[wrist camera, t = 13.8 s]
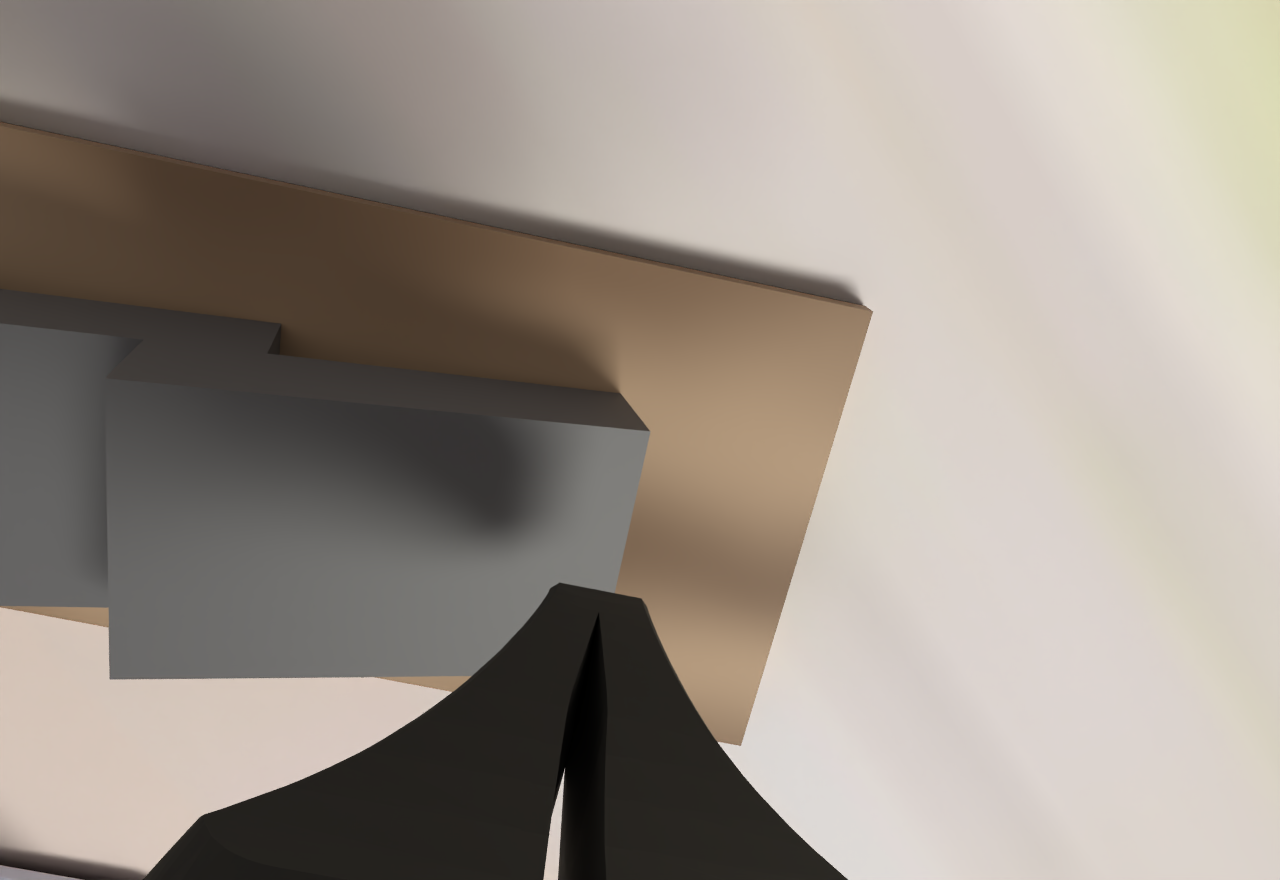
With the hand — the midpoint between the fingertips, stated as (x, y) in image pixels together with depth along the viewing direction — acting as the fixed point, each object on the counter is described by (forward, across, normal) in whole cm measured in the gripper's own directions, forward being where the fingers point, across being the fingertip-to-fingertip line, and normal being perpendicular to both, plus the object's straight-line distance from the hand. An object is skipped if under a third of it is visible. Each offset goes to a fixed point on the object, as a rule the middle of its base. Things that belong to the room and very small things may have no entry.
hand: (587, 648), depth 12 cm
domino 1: (+4, 0, 0) cm, 4 cm away
